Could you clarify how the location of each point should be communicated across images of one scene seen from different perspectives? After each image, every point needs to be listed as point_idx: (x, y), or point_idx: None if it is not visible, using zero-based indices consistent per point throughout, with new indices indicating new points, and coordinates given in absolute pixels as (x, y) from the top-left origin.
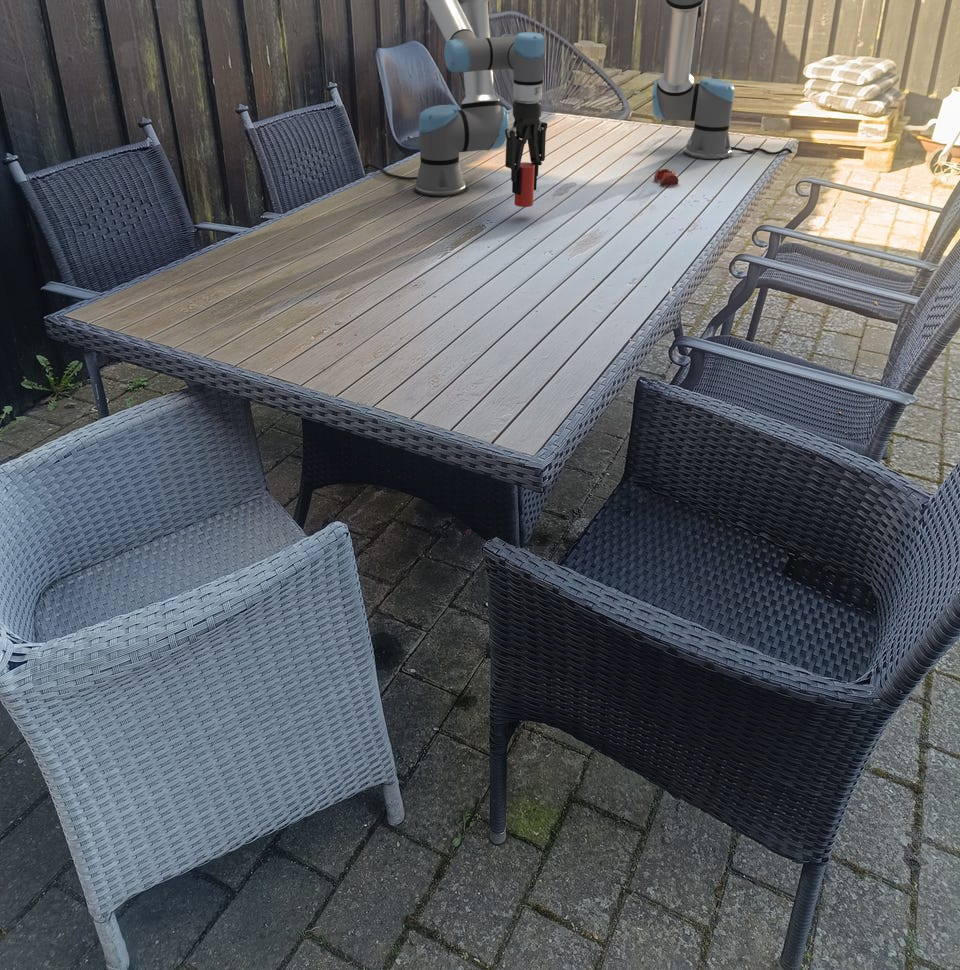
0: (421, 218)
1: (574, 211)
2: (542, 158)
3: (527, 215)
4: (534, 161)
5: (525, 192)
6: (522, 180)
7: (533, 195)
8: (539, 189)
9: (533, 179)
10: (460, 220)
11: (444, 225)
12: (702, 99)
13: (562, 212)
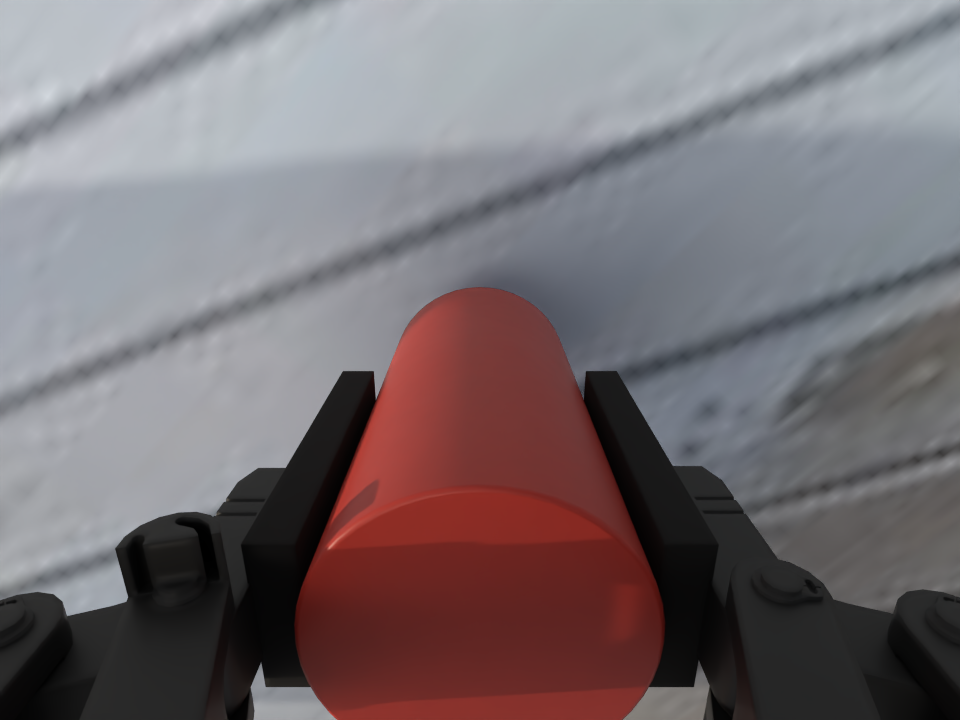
0: None
1: (31, 184)
2: (18, 641)
3: None
4: (228, 660)
5: (548, 347)
6: (599, 441)
7: (412, 334)
8: None
9: (424, 389)
10: (803, 555)
11: (942, 550)
12: None
13: (135, 233)
